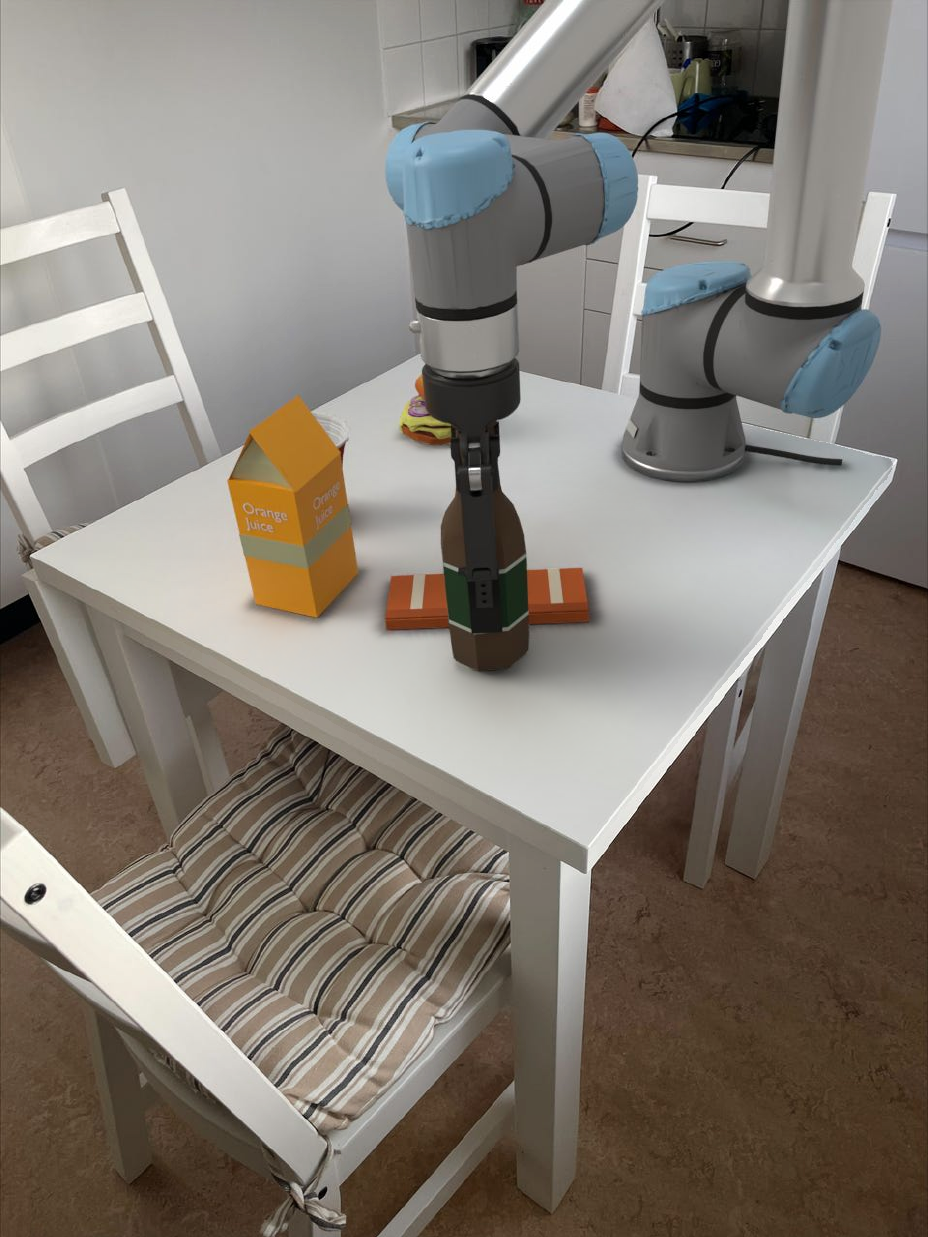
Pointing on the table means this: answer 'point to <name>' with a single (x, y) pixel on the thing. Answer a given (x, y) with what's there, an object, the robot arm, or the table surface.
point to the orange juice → (293, 513)
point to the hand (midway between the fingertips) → (486, 602)
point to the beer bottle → (512, 561)
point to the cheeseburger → (423, 421)
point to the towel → (426, 604)
